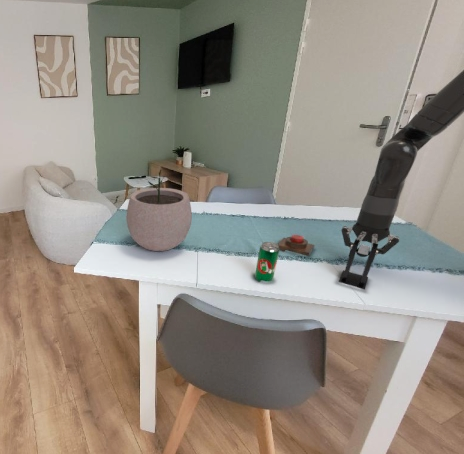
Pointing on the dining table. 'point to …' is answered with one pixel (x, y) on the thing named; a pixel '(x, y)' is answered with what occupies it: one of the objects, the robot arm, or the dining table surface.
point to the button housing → (295, 246)
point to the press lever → (363, 251)
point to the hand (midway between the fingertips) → (359, 260)
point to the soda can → (266, 261)
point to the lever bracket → (358, 279)
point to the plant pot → (159, 217)
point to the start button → (297, 238)
